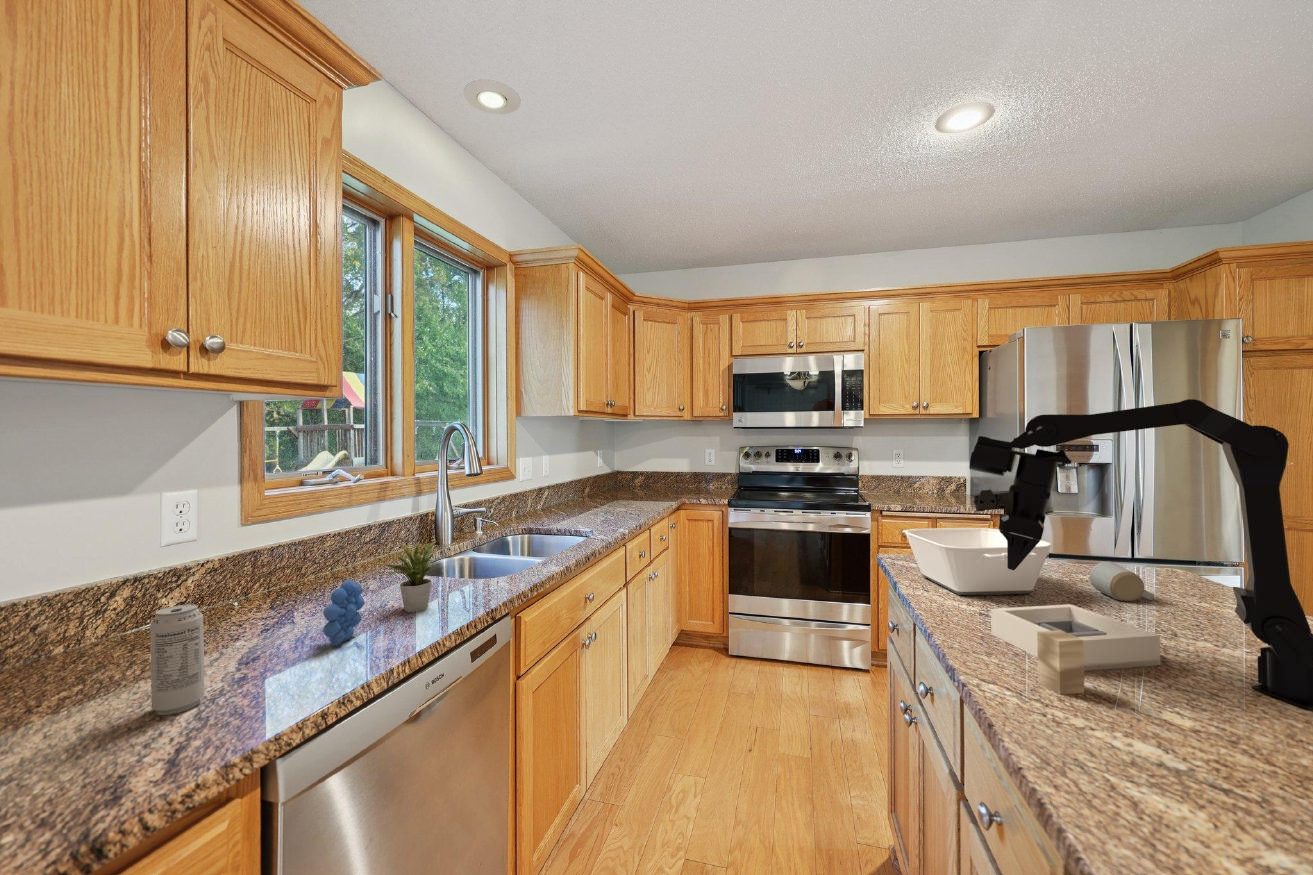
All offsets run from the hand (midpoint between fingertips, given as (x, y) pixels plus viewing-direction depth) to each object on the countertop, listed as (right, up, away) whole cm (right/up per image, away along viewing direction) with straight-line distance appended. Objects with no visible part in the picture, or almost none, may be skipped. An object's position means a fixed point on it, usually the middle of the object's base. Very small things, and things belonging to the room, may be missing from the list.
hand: (1012, 564), depth 99 cm
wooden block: (-4, -15, -17) cm, 23 cm away
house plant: (-125, -18, +31) cm, 130 cm away
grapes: (-130, -18, +9) cm, 132 cm away
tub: (+16, -15, +38) cm, 44 cm away
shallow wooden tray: (+9, -15, -2) cm, 17 cm away
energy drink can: (-140, -18, -17) cm, 142 cm away
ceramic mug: (+44, -14, +26) cm, 53 cm away
